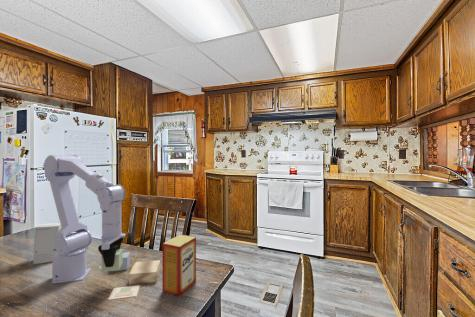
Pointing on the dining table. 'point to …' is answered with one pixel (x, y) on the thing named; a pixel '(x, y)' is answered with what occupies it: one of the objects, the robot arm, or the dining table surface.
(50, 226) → the skincare box
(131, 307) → the dining table surface
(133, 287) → the card
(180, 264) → the baking soda box
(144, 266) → the birch base block
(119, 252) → the sage green block
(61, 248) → the robot arm
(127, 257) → the dusty blue block
